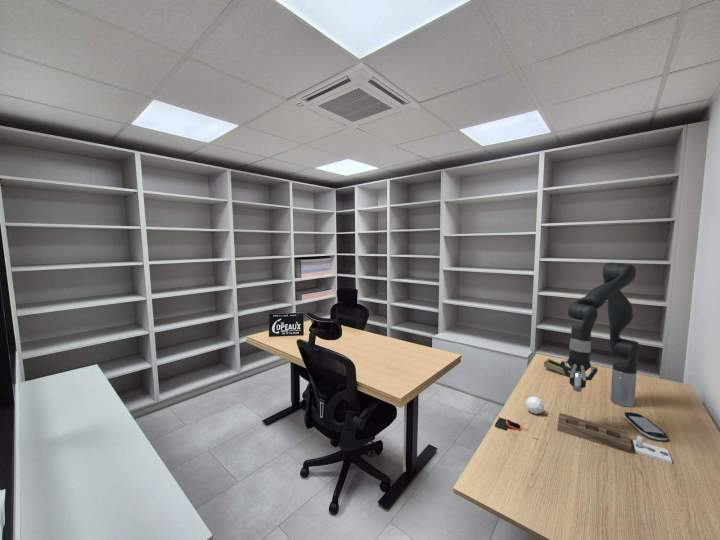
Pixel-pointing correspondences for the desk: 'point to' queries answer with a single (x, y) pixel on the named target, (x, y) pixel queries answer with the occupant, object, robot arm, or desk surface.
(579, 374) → the steel pin
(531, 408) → the geometric ball
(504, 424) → the multimeter
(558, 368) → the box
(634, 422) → the gaming console
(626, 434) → the pin board
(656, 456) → the white plate with peg
